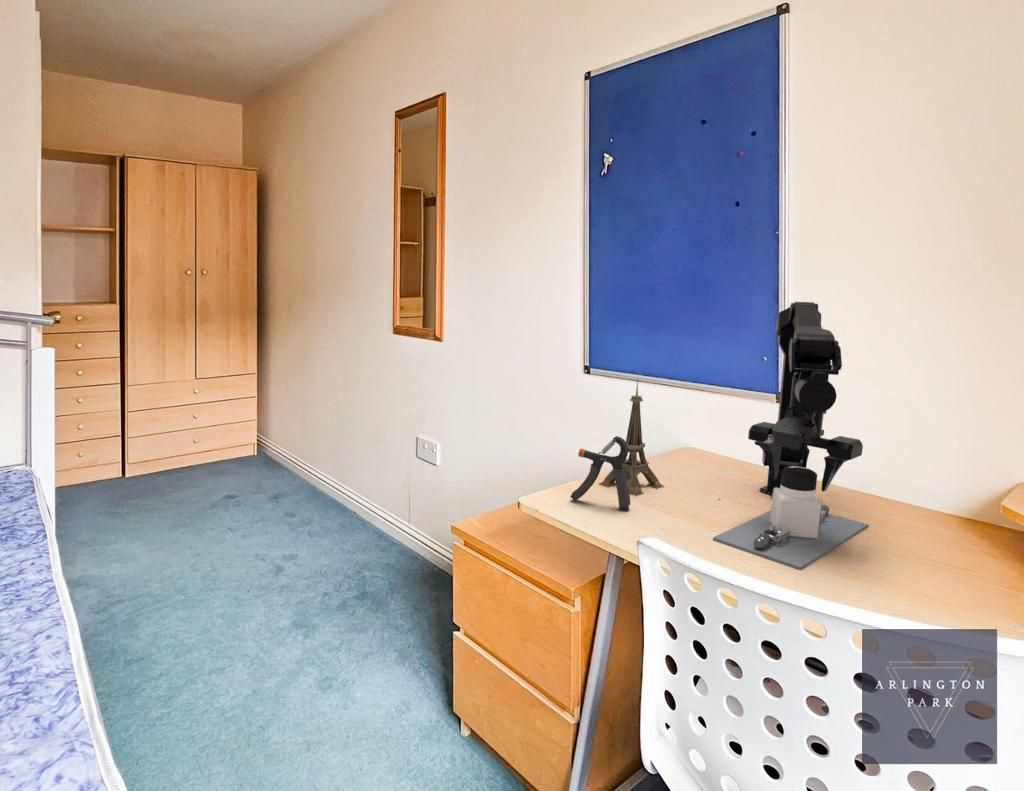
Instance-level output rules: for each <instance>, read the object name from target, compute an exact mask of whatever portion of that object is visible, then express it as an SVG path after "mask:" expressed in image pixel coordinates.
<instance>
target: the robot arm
mask: <svg viewBox="0 0 1024 791" xmlns="http://www.w3.org/2000/svg"><path fill="white" fill-rule="evenodd" d="M775 322H776V323H775V330H774V331H775V332H774V333H775V334H774V335H775V336H776V337H777V345H778V347H779V348H780V351H781V352H782V354H783V361H782V373H781V374H782V375H781V384H780V396H779V404H778V414H777V415H778V416H777V421H776V422H775V423H772V422H766V421H762V422H758V423H754V424H752V425H751V426H750V428H749V430H748V434H747V435H748V436H747V437H748V440H751V441H753V442H754V445H756V446H759V448H761V450H762V458H761V461H762V464H763V467H768V472H767V481H766V485H765V486H763V487H760V492H764V493H767V494H771V495H773V489H774V488H775V487H776V488H780V485H781V476H782V470H783V469H784V468H787V467H792V466H796V467H804V468H807V464H808V458H809V455H810V453H811V452H810V451H811V450H810V449H809V447H813V448H818V449H823V450H826V452H827V454H828V455H827V456H824V458H823V459H824V463H825V464H824V465H825V466H824V470H823V474H822V475H823V476H822V480H821V481H822V482H821V492H826V491H827V490H828V488H829V486H830V485H831V483H832V481H833V480H834V478H835V476H836V474H837V473H838V471H839V470H840V468H841V467H842V466H843V464H844V463H846V462H848V461H851V460H854V459H856V458H857V457H858V458H859V457H860V456H862V455H863V449H864V448H863V447H864V445H863V443H862V440H860V439H859V438H854V437H847V436H843V435H842V436H841V435H839V436H836V437H834V438H833V437H832V438H829V439H828V438H825V437H823V436H824V435H825V429H823V422H824V421H823V420H824V415H825V414H827V411H829V410H830V409H831V408H832V407H833V406H834V405H835V403H836V400H837V391H836V388H835V386H834V385H833V384H832V383H831V382H830V381H829V377H830V375H832V376H833V375H834V376H838V375H839V374H840V371H841V370H842V368H843V367H842V366H843V361H842V349H841V346H840V345H839V341H838V340H836V338H835V335H834V334H833V333H832V331H831V330H828V329H825V328H823V327H822V313H821V312H820V311H819V304H818V303H815V302H814V301H813V302H812V301H811V302H809V301H794V302H791V303H790V306H789V307H787V308H785V309H783V310H781V311H780V312H779V313H778V315H777V319H776V321H775Z"/></svg>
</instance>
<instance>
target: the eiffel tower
mask: <svg viewBox="0 0 1024 791" xmlns="http://www.w3.org/2000/svg"><path fill="white" fill-rule="evenodd" d="M636 380H637V383H636V388H635V390H636V391H635V395H631V396H630V397H631V398H630V399H629V401H631V402H632V406H631V411H630V416H629V422H628V427H627V433H626V438H625V442H626V444H627V447H628V453H627V455H626V457H625V458H624V459H623V460H622V466H623V467H625V472H626V476H627V481H630V482H629V484H628V487H629V494H630V496H633V495H635V496H634V497H638V495H639V496H641V494H642V495H644V494H645V493H644V492H643V490H642V488H641V484H640V480H639V479H638V478H639V477H638V476H639V474H640V473H641V474H642V476H644V478H645V479H646V481H647V482H648V483H647V485H646V486H647V487H648V486H649V487H648V488H651V487H652V489H655V488H656V490H659V489H658V488H660V489H662V488H665V485H662V484H661V483H660V479H658V477H657V476H656V473H654V472H653V470H652V469H651V468H650V466H649V464H650V462H648V461H647V458H646V454H645V450H644V448H645V447H646V443H645V442H643V433H642V431H643V430H642V420H641V419H642V415H641V402H643V401H644V400H643V395H642V396H641V395H639V393H638V391H639V390H638V389H639V383H638V382H639V378H637V379H636ZM637 453H638V454H637ZM628 454H629V456H628ZM637 455H638V457H639V460H638V457H637ZM598 485H599V486H602V487H605V488H611V487H614V486H616V481H615V476H614V472H613V469H612V470H611V471H610V472H609V473H608V474H607V475H606V476H605V478H604V479H603V480H602V481H601V482H600V483H598ZM661 487H662V488H661Z"/></svg>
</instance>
